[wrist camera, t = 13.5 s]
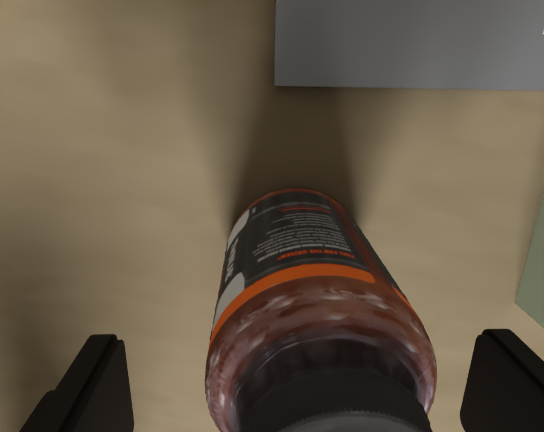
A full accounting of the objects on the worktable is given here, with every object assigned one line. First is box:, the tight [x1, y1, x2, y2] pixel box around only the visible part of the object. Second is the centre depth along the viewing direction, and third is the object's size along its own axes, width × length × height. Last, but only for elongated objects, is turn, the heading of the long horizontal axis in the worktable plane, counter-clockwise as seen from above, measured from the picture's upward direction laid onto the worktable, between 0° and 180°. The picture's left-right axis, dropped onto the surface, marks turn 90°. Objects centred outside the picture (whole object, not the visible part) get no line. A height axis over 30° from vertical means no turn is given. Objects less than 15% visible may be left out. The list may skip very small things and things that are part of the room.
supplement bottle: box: [205, 188, 437, 432], centre depth 12 cm, size 6×6×11 cm
